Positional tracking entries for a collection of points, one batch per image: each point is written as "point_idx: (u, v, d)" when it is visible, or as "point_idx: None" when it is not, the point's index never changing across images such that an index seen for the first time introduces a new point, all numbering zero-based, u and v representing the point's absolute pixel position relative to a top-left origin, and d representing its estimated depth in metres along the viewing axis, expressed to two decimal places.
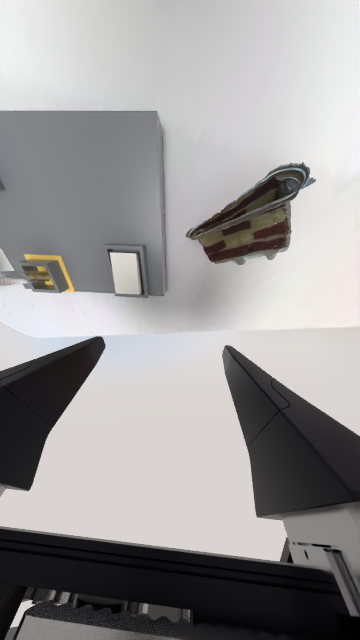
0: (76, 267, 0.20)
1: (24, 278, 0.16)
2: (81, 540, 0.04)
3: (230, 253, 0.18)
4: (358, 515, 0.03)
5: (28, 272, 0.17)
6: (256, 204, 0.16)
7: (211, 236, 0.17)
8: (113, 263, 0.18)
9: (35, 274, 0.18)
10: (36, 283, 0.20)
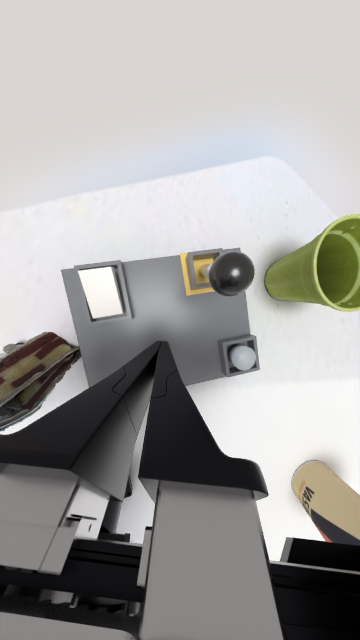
0: (171, 286, 0.18)
1: (205, 272, 0.13)
2: (81, 540, 0.04)
3: (26, 351, 0.17)
4: (164, 493, 0.03)
5: (206, 277, 0.15)
6: (33, 390, 0.18)
7: (56, 357, 0.18)
8: (117, 303, 0.16)
9: (203, 274, 0.15)
10: None
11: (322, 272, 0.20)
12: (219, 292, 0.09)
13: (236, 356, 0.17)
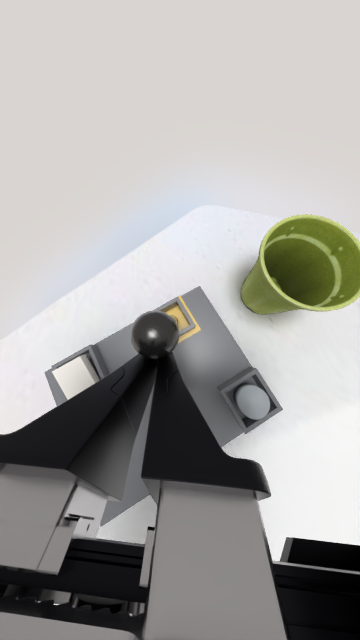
0: None
1: None
2: (81, 540, 0.04)
3: None
4: (167, 494, 0.03)
5: None
6: None
7: None
8: None
9: None
10: (179, 306, 0.17)
11: (296, 272, 0.18)
12: (149, 358, 0.07)
13: (242, 403, 0.14)
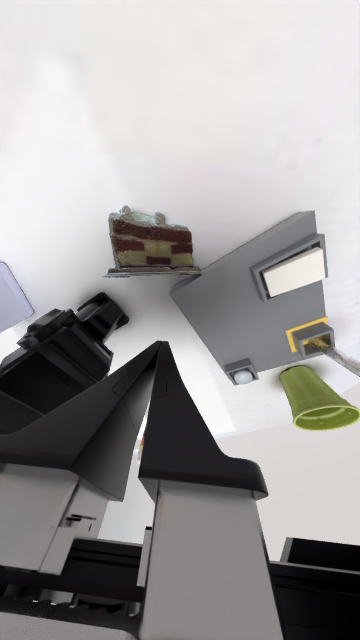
0: (294, 318, 0.20)
1: (348, 359, 0.17)
2: (81, 540, 0.04)
3: (168, 235, 0.16)
4: (164, 493, 0.03)
5: (333, 356, 0.18)
6: None
7: (181, 262, 0.18)
8: (282, 291, 0.16)
9: (329, 350, 0.19)
10: None
11: None
12: None
13: (244, 375, 0.25)
